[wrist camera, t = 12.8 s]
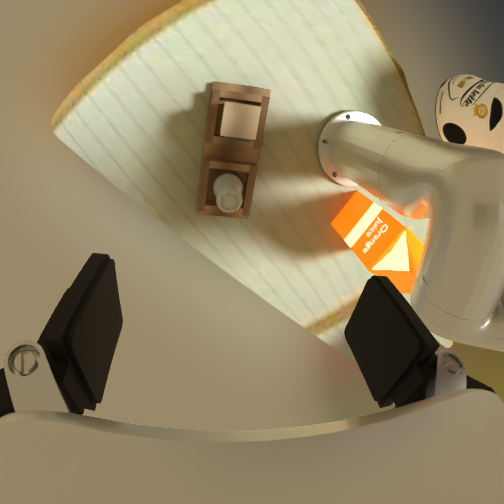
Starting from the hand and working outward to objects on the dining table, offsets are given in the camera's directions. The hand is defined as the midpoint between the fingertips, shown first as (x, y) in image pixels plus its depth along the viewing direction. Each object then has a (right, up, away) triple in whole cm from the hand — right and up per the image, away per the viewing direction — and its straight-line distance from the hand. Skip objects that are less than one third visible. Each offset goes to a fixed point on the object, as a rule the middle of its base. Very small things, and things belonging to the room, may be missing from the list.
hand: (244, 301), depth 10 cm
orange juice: (+19, +8, +37) cm, 43 cm away
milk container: (+40, +29, +28) cm, 57 cm away
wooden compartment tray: (-3, +16, +29) cm, 33 cm away
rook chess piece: (-3, +12, +31) cm, 33 cm away
